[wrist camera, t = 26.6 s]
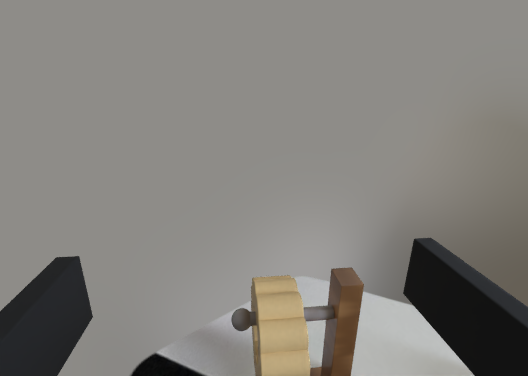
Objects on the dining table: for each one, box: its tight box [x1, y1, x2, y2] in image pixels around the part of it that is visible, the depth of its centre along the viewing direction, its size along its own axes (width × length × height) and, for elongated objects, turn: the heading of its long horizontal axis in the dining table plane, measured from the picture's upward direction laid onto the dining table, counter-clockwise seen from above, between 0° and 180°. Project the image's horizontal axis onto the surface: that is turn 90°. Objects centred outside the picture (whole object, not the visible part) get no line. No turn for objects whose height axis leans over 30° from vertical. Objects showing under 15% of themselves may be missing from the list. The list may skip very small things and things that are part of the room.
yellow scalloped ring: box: [251, 275, 310, 376], centre depth 31 cm, size 4×12×12 cm, turn 7°
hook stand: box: [232, 268, 364, 376], centre depth 33 cm, size 15×10×21 cm, turn 97°
